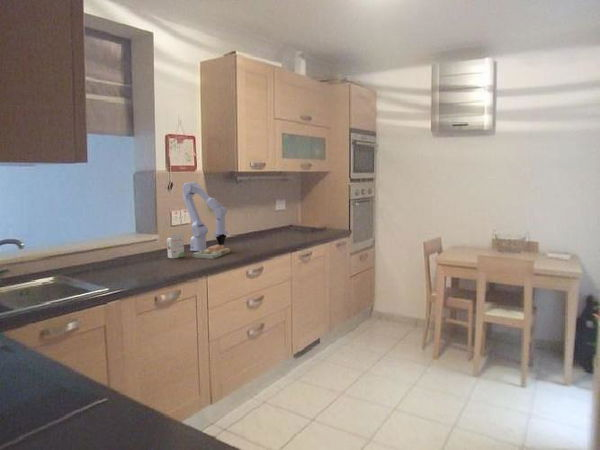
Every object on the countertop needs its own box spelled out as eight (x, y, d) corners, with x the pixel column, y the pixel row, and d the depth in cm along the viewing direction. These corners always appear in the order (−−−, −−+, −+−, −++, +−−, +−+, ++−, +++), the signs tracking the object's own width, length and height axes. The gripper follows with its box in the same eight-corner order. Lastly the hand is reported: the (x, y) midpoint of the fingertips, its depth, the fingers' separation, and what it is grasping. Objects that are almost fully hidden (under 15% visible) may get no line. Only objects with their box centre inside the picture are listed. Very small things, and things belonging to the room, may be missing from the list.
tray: (192, 257, 264) (192, 253, 263) (201, 254, 273) (201, 250, 272) (213, 258, 259) (213, 255, 259) (221, 255, 268) (221, 252, 268)
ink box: (180, 255, 270) (179, 231, 268) (184, 256, 266) (183, 232, 264) (167, 257, 264) (166, 232, 262) (171, 258, 260) (170, 233, 258)
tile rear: (212, 249, 277) (212, 245, 277) (216, 247, 282) (216, 244, 281) (220, 249, 275) (220, 246, 275) (223, 248, 280) (223, 244, 280)
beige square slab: (202, 254, 273) (202, 250, 272) (212, 250, 284) (211, 247, 284) (220, 255, 269) (220, 251, 268) (230, 252, 280) (230, 248, 279)
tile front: (208, 250, 272) (208, 247, 271) (212, 249, 276) (212, 246, 276) (215, 251, 270) (215, 247, 270) (219, 249, 275) (219, 246, 274)
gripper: (220, 227, 272) (221, 248, 274) (231, 224, 286) (232, 245, 287) (210, 226, 274) (211, 248, 276) (221, 223, 288) (222, 244, 290)
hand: (221, 246), depth 282 cm, fingers closed
